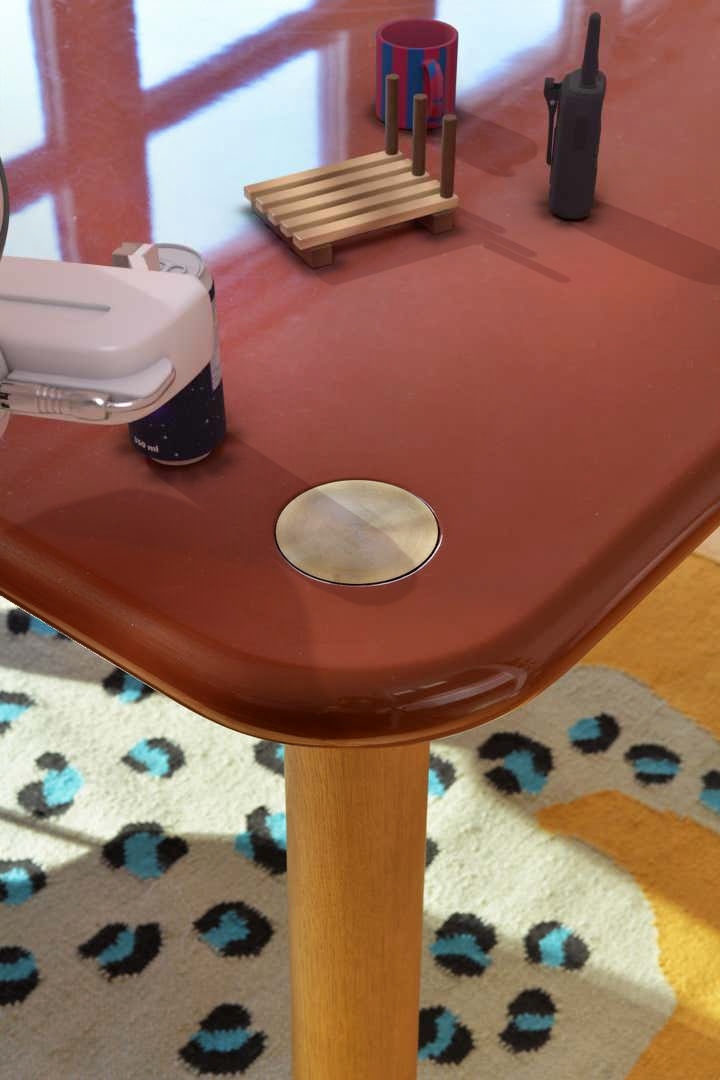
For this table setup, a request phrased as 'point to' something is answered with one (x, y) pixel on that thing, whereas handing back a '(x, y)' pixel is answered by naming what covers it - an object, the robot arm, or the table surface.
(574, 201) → the two-way radio
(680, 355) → the table surface
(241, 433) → the table surface
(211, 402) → the beverage can
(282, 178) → the drying rack
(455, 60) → the mug
